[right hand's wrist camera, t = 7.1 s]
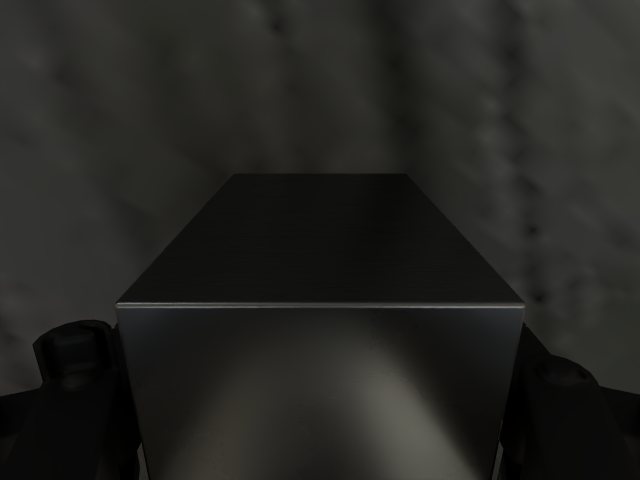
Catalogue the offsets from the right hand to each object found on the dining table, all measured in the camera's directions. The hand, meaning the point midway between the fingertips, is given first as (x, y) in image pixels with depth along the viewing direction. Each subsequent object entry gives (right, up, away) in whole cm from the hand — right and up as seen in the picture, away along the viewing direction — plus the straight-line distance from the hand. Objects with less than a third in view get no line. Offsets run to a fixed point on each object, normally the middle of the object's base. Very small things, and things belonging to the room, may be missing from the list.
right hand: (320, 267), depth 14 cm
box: (0, -6, +3) cm, 7 cm away
